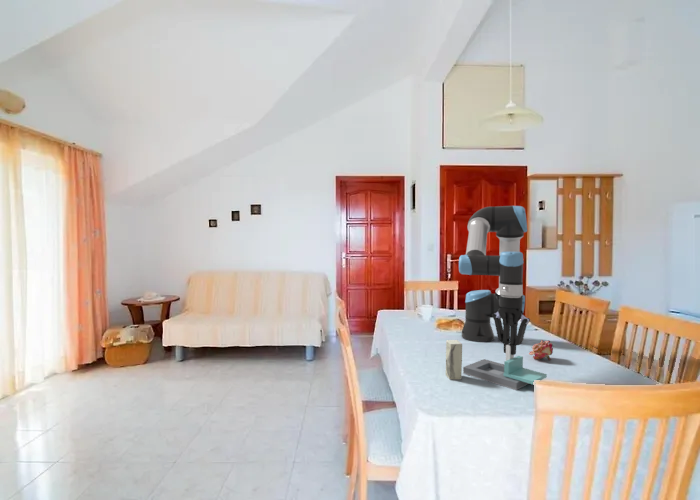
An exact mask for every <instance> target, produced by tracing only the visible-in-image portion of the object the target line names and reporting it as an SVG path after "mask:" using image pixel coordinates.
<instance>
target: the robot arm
mask: <svg viewBox="0 0 700 500" xmlns="http://www.w3.org/2000/svg"><path fill="white" fill-rule="evenodd" d="M467 231H468V236H467V243H466V250H465V254H461V255H460V256H459V258H458V272H459V274H461V275H467V276H468V275H469V276H494V277H495V276H496V277H497V276H498V288H496V289H495V293H492V292H491V291H492V290H489V289H479V290H471V291H469V292H467V293H466V294H465V301H464V303H465V320H464V323H463V324H464V325H463V327H462V330H461V339H464V340H467V341H471V342H478V343H479V342H480V343H481V342H482V343H483V342H486V343H487V342H491V341H493V340H495V334H494V330H493V327H492V325H491V318H492V319H493V320H494V324H495V330H496V335H497V339H498V342H501V343H502V344H503V353H505V361H507V360H509V359H512V358H514V356H515V355H516V353H517V346H519V345H522V344H523V340H524V337H525V333H526V329H527V327H528V326H527V325H528V324H529V323H530V321H531V319H530V317H526V316H525V315H524V311H525V305H526V295H524V293H523V292H524V289H523V285H524V284H523V278H524V276H523V275H524V254H523V252H521V250H520V249H521V248H520V247H521V245H520V244H521V243H520V242H521V239H522V238H524V236H525V235H524V234H525V233H527V232H528V222H527V214H526V208H525V207H524V206H521V205H503V206H502V205H500V206H499V205H497V206H485V207H482V208H480V209H478V210H477V211H476V212H474V213H473V215H472V216H470V218H469V220H468V222H467ZM489 233H495V236H496V237H497V238H498V240H499V253H498V254H499V255H487V243H488V234H489ZM519 321H520V324H519ZM518 325H519V327H518Z"/></svg>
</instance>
